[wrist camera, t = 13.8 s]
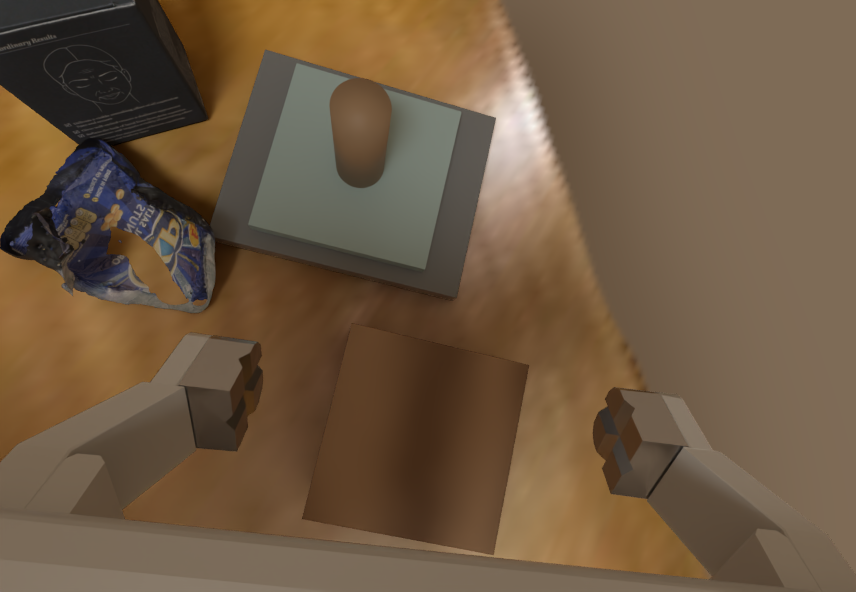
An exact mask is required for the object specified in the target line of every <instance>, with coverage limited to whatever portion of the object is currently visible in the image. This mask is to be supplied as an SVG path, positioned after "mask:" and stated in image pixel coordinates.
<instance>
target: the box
mask: <svg viewBox="0 0 856 592" xmlns="http://www.w3.org/2000/svg"><path fill="white" fill-rule="evenodd" d="M0 85H1V86H3V87H4V88H5V89H6V90H8V91H9V92H10V93H12V94H13V95H14V96H16V97H17V98H18V99H19V100H21V101H22V102H23V103H25V104H26V105H27V106H29V107H30V108H31V109H33V110H34V111H35V112H36V113H38V114H39V115H41V116H42V117H43V118H45V119H46V120H47V121H49V122H50V123H51V124H52V125H54V126H55V127H56V128H58V129H59V130H61V131H62V132H63V133H64V134H66V135H67V136H68V137H69V138H71V139H72V140H74V141H75V142H76V143H77V144H79V145H80V144H82V142H84V140H86V139H89V138H99V139H102V140H103V141H105V142H106V143H108V144H109V145H110V146H111V145H115V144H118V143H122V142H126V141H130V140H134V139H137V138H141V137H145V136H148V135H152V134H156V133H160V132H163V131H167V130H171V129H174V128H178V127H182V126H186V125H189V124H193V123H197V122H201V121H204V120H207V119H208V116H207V113H206V111H205V107H204V105H203V101H202V98H201V96H200V92H199V90H198V87H197V84H196V81H195V78H194V75H193V73H192V70H191V67H190V64H189V61H188V58H187V55H186V51H185V49H184V46H183V44H182V42H181V41H180V39H179V37H178V35H177V34H176V32H175V30H174V28H173V27H172V25H171V23H170V21H169V19H168V18H167V16H166V14H165V12H164V11H163V9H162V7H161V5H160V3H159V2H158V0H0Z"/></svg>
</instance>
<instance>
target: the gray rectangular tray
mask: <svg viewBox="0 0 856 592" xmlns="http://www.w3.org/2000/svg"><path fill="white" fill-rule="evenodd" d="M297 63H298V64H301V65H305V66H308V67H312V68H315V69H318V70H322V71H325V72H328V73H332V74H335V75H339V76H342V77H345V78H349V79H354V78H359V77H356V76H352V75H349V74H346V73H342V72H339V71H336V70H332V69H329V68H325V67H322V66H319V65H315V64H312V63H309V62H305V61H302V60H298V59H295V58H292V57H288V56H285V55H282V54H278V53H275V52H271V51H268V50H265V52H264V55H263V59H262V62H261V65H260V68H259V71H258V74H257V78H256V81H255V84H254V87H253V90H252V93H251V97H250V100H249V103H248V106H247V109H246V112H245V116H244V119H243V122H242V125H241V128H240V131H239V135H238V138H237V141H236V144H235V147H234V150H233V154H232V157H231V160H230V163H229V166H228V169H227V172H226V176H225V179H224V182H223V185H222V188H221V191H220V195H219V198H218V201H217V204H216V207H215V210H214V214H213V217H212V220H211V223H210V227H211V229H212V231H213V233H214V236H215V242H218V243H222V244H227V245H231V246H235V247H239V248H243V249H247V250H251V251H255V252H259V253H263V254H267V255H271V256H275V257H279V258H283V259H287V260H291V261H295V262H299V263H303V264H307V265H311V266H315V267H319V268H323V269H327V270H331V271H335V272H339V273H343V274H347V275H351V276H355V277H359V278H363V279H367V280H371V281H375V282H379V283H383V284H387V285H391V286H395V287H399V288H403V289H407V290H411V291H415V292H419V293H423V294H427V295H431V296H435V297H439V298H444V299H448V300H454V299H455V298H457V294H458V289H459V284H460V280H461V275H462V271H463V266H464V262H465V257H466V252H467V248H468V243H469V239H470V234H471V229H472V225H473V220H474V216H475V211H476V207H477V202H478V197H479V193H480V188H481V184H482V179H483V174H484V170H485V165H486V161H487V156H488V152H489V147H490V142H491V138H492V133H493V129H494V124H495V120H496V118H494V117H491V116H487V115H484V114H480V113H477V112H474V111H470V110H467V109H464V108H460V107H457V106H453V105H450V104H447V103H443V102H440V101H437V100H433V99H430V98H427V97H423V96H420V95H416V94H413V93H410V92H406V91H403V90H400V89H396V88H393V87H389V86H386V85H383V84H379V83H377V84H379V85H380V86H381V87H382V88H383V89H386V90H390V91H393V92H396V93H400V94H403V95H406V96H410V97H413V98H417V99H420V100H423V101H427V102H430V103H434V104H437V105H440V106H444V107H447V108H451V109H454V110H457V111H461V116H460V121H459V125H458V129H457V134H456V138H455V142H454V147H453V151H452V155H451V160H450V164H449V168H448V173H447V177H446V181H445V186H444V190H443V194H442V199H441V203H440V207H439V212H438V216H437V220H436V225H435V229H434V233H433V238H432V242H431V246H430V251H429V255H428V259H427V263H426V268H425V270H424V272H419V271H415V270H411V269H407V268H403V267H399V266H395V265H391V264H387V263H383V262H380V261H376V260H372V259H368V258H364V257H360V256H356V255H352V254H348V253H344V252H340V251H336V250H332V249H328V248H324V247H320V246H316V245H312V244H308V243H304V242H300V241H296V240H293V239H289V238H285V237H281V236H277V235H273V234H269V233H265V232H261V231H257V230H253V229H251V228H250V226H249V225H248V223H249V220H250V216H251V213H252V210H253V206H254V203H255V200H256V196H257V193H258V190H259V186H260V183H261V180H262V176H263V173H264V170H265V167H266V163H267V160H268V157H269V153H270V150H271V147H272V143H273V140H274V137H275V133H276V130H277V127H278V123H279V120H280V117H281V113H282V110H283V107H284V103H285V100H286V97H287V93H288V90H289V87H290V83H291V80H292V77H293V73H294V70H295V67H296V64H297ZM375 83H376V82H375Z"/></svg>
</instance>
